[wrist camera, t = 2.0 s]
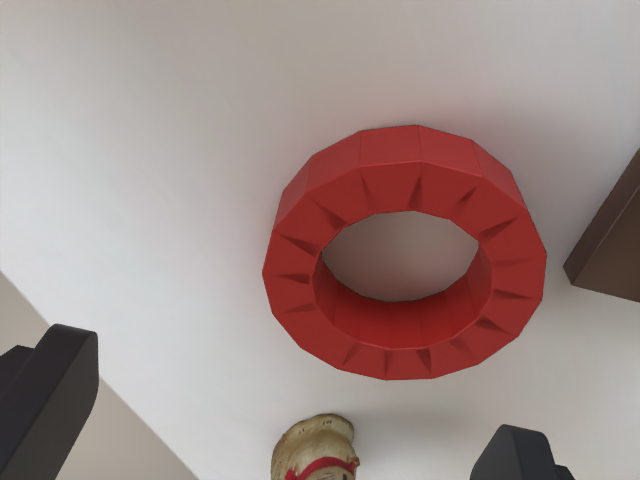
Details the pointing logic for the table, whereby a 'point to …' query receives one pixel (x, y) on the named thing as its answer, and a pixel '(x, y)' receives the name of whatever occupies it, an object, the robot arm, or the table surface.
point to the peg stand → (612, 242)
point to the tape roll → (396, 196)
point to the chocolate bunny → (316, 451)
